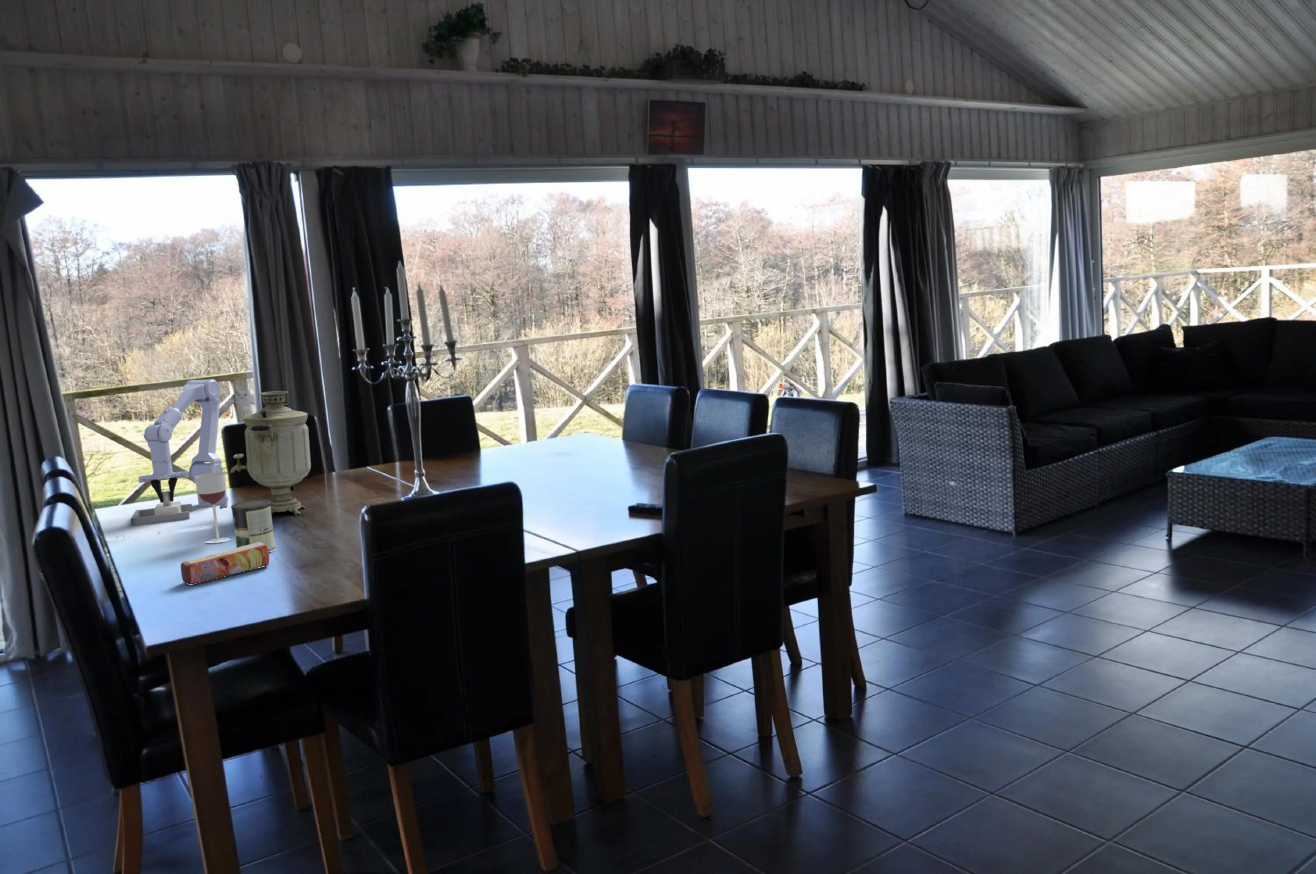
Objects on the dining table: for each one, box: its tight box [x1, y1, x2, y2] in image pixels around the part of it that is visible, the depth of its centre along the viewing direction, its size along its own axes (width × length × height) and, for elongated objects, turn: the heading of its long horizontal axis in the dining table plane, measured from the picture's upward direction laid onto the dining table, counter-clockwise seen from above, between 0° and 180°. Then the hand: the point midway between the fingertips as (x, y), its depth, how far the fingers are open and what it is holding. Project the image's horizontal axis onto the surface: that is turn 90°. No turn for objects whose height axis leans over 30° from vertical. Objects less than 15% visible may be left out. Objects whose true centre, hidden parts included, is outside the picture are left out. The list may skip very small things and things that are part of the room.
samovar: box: [229, 390, 312, 516], centre depth 340 cm, size 30×26×40 cm
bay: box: [130, 503, 194, 527], centre depth 339 cm, size 17×14×4 cm
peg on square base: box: [154, 490, 182, 515], centre depth 339 cm, size 7×9×8 cm
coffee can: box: [230, 499, 276, 551], centre depth 292 cm, size 10×10×14 cm
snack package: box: [180, 542, 270, 584], centre depth 270 cm, size 21×7×7 cm, turn 135°
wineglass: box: [194, 471, 227, 542], centre depth 307 cm, size 8×9×20 cm
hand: (167, 501), depth 339 cm, fingers closed on peg on square base, 2 cm apart
